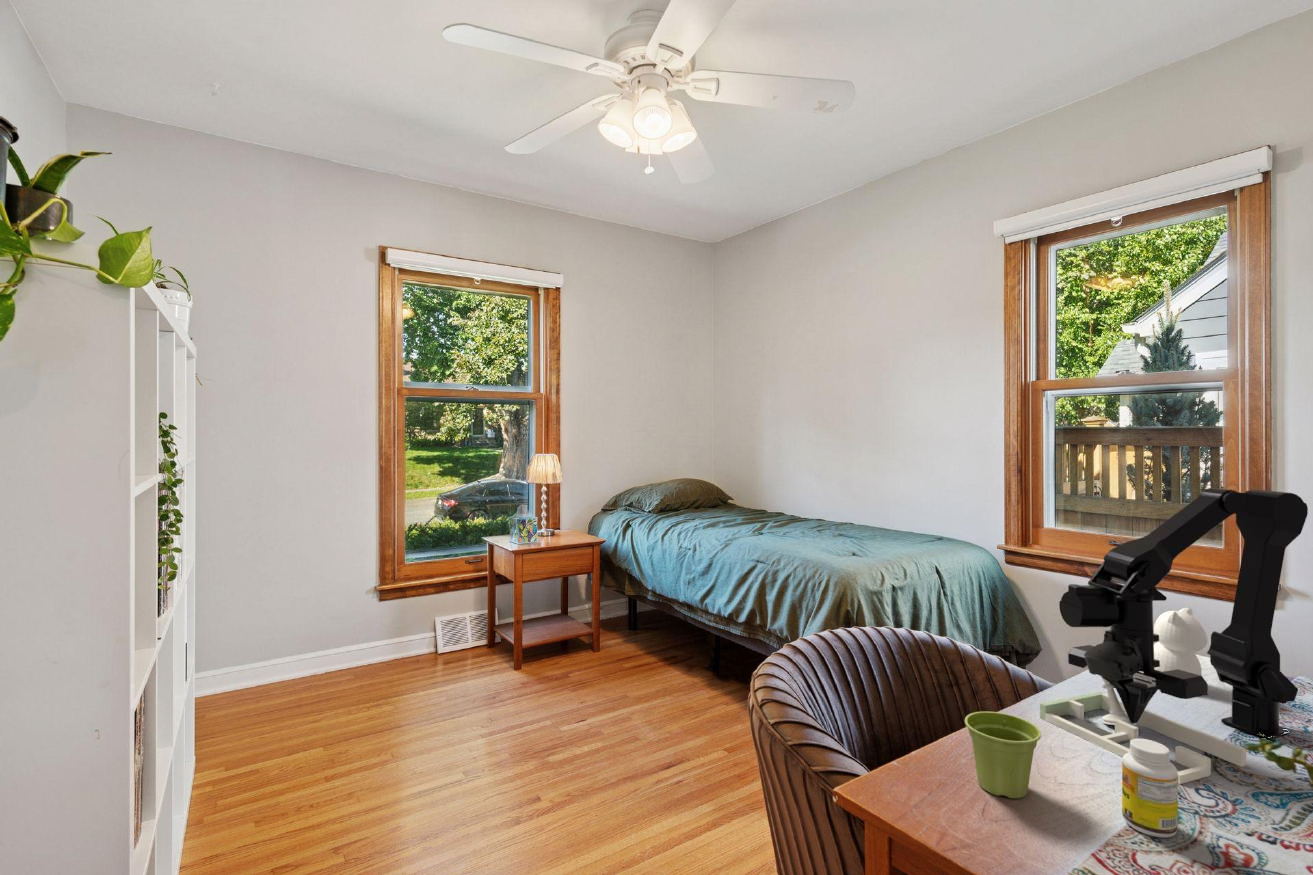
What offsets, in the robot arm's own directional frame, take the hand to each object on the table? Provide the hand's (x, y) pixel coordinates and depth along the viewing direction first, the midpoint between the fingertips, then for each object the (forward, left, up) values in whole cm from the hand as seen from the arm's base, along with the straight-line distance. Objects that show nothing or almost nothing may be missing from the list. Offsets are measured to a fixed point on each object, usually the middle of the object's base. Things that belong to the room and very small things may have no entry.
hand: (1133, 722), depth 106 cm
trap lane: (+2, +2, -2) cm, 3 cm away
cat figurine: (-27, -12, -2) cm, 30 cm away
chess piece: (0, -2, -1) cm, 3 cm away
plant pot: (+33, +5, -2) cm, 34 cm away
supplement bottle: (+24, +18, -2) cm, 29 cm away
